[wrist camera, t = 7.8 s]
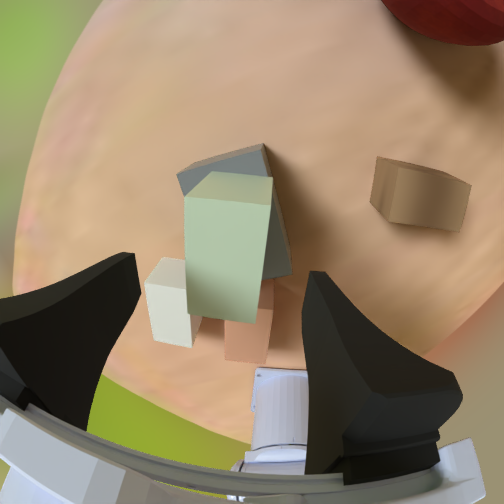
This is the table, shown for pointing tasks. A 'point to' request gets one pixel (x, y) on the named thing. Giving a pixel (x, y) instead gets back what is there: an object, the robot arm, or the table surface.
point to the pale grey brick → (170, 304)
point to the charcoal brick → (257, 164)
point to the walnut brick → (419, 195)
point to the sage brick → (226, 244)
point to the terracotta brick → (252, 331)
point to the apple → (453, 19)
